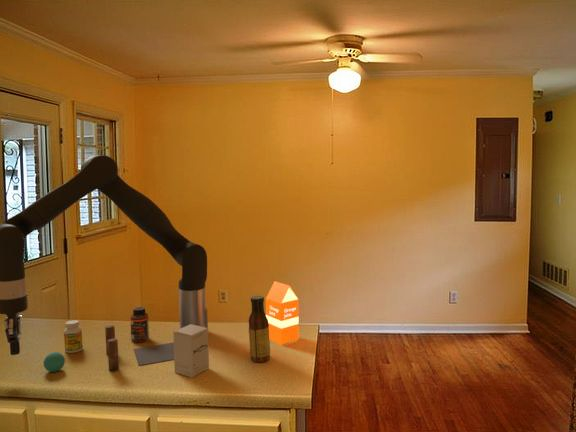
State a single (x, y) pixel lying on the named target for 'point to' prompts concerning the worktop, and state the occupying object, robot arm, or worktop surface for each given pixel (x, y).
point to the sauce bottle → (259, 331)
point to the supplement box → (191, 350)
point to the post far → (109, 334)
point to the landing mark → (154, 354)
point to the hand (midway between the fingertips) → (15, 353)
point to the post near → (113, 355)
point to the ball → (54, 362)
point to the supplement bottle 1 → (73, 337)
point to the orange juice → (282, 313)
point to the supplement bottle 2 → (139, 325)
